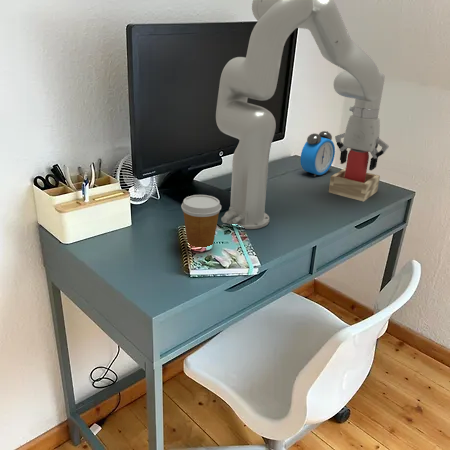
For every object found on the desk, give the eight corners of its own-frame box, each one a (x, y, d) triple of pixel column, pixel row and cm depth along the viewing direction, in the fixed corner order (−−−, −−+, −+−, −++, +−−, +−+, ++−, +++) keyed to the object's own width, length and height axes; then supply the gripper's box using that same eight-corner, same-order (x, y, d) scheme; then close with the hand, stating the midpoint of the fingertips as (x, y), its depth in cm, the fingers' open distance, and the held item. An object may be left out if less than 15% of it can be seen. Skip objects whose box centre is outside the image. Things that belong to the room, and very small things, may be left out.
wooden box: (363, 202, 156) (366, 184, 154) (328, 193, 162) (330, 176, 160) (376, 192, 165) (380, 175, 163) (343, 184, 171) (345, 167, 169)
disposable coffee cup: (194, 234, 128) (195, 191, 123) (226, 244, 124) (229, 199, 119) (173, 248, 121) (173, 202, 116) (206, 259, 117) (207, 212, 112)
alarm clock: (311, 179, 173) (316, 137, 167) (297, 174, 177) (302, 133, 171) (332, 172, 182) (338, 131, 176) (318, 167, 186) (324, 128, 180)
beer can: (366, 188, 159) (372, 152, 155) (345, 187, 160) (351, 151, 155) (361, 181, 165) (367, 146, 161) (341, 180, 166) (347, 145, 161)
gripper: (334, 110, 154) (327, 163, 162) (389, 119, 146) (379, 174, 153) (344, 107, 160) (336, 158, 167) (397, 115, 151) (387, 169, 158)
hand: (357, 166), depth 160 cm, fingers open, 9 cm apart
